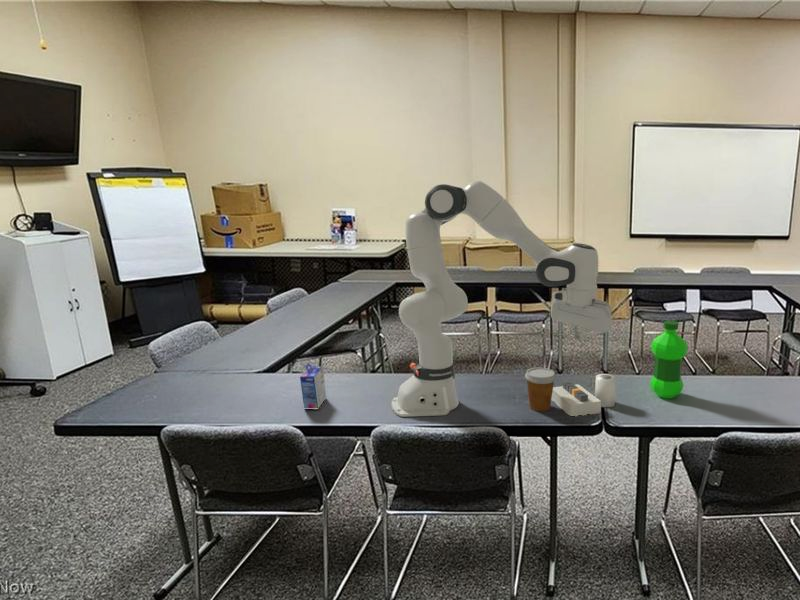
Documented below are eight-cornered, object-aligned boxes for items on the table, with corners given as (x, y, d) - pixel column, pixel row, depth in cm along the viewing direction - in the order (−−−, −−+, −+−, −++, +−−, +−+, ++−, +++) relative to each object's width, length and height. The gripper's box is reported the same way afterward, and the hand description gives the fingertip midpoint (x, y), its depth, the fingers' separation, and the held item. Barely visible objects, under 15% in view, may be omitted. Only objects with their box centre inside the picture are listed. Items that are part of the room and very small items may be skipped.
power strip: (570, 417, 159) (571, 398, 158) (539, 389, 180) (539, 373, 179) (600, 413, 161) (601, 395, 159) (566, 386, 182) (566, 370, 181)
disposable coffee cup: (552, 401, 171) (552, 366, 168) (557, 413, 162) (558, 377, 159) (522, 401, 172) (523, 367, 169) (526, 413, 163) (527, 378, 160)
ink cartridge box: (311, 398, 183) (308, 359, 179) (326, 398, 182) (323, 359, 179) (302, 410, 173) (298, 369, 170) (318, 410, 172) (314, 370, 169)
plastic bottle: (673, 388, 176) (678, 317, 170) (689, 401, 166) (695, 326, 160) (643, 389, 176) (647, 318, 171) (657, 402, 166) (662, 327, 160)
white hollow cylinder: (601, 408, 164) (602, 381, 162) (591, 400, 170) (592, 374, 168) (618, 406, 165) (619, 379, 163) (607, 398, 171) (609, 372, 169)
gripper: (618, 301, 152) (614, 345, 155) (561, 289, 168) (559, 330, 172) (604, 304, 148) (601, 350, 152) (548, 292, 165) (546, 333, 168)
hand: (579, 339), depth 162 cm, fingers closed
